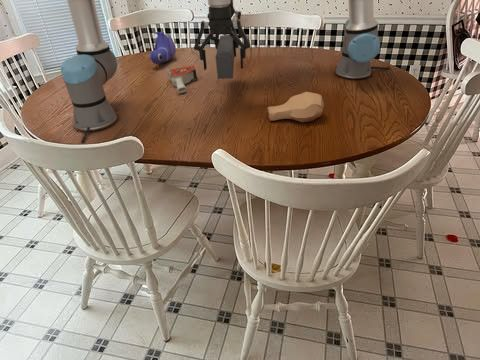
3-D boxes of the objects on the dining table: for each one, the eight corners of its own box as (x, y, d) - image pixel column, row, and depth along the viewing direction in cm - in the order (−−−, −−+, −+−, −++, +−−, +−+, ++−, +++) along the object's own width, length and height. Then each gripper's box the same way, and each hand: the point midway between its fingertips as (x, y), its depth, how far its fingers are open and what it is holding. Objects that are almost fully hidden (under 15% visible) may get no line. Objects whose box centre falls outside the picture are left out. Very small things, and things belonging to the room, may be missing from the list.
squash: (327, 123, 123) (327, 101, 117) (270, 133, 125) (267, 112, 119) (321, 105, 131) (320, 84, 124) (267, 115, 133) (264, 94, 126)
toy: (164, 64, 198) (143, 70, 176) (159, 31, 191) (137, 33, 169) (180, 63, 196) (162, 69, 173) (176, 30, 189) (156, 32, 167)
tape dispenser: (182, 98, 151) (209, 79, 163) (180, 86, 147) (208, 68, 160) (151, 89, 158) (180, 72, 171) (149, 78, 155) (178, 61, 167)
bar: (232, 78, 130) (231, 55, 126) (217, 79, 131) (215, 56, 126) (234, 54, 154) (233, 34, 149) (221, 55, 154) (220, 35, 149)
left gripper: (256, 1, 122) (256, 63, 135) (184, 4, 123) (191, 65, 135) (256, 5, 116) (257, 70, 129) (181, 9, 117) (189, 72, 129)
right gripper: (246, -8, 139) (249, 52, 153) (199, -5, 140) (206, 54, 154) (246, -5, 133) (249, 57, 147) (197, -2, 134) (205, 60, 148)
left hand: (223, 68), depth 132 cm, fingers open, 13 cm apart
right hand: (227, 56), depth 150 cm, fingers closed on bar, 6 cm apart
